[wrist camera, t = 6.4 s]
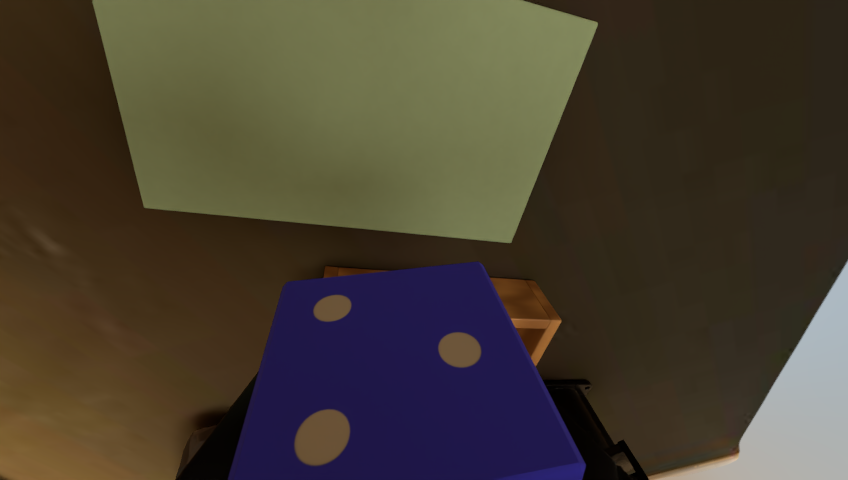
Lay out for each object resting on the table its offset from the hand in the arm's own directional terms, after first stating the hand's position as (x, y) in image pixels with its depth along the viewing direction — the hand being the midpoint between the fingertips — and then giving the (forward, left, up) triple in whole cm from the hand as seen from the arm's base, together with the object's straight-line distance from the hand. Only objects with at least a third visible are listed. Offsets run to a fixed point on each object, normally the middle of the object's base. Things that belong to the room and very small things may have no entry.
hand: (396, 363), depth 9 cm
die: (0, 0, -1) cm, 1 cm away
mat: (+1, -4, -11) cm, 12 cm away
